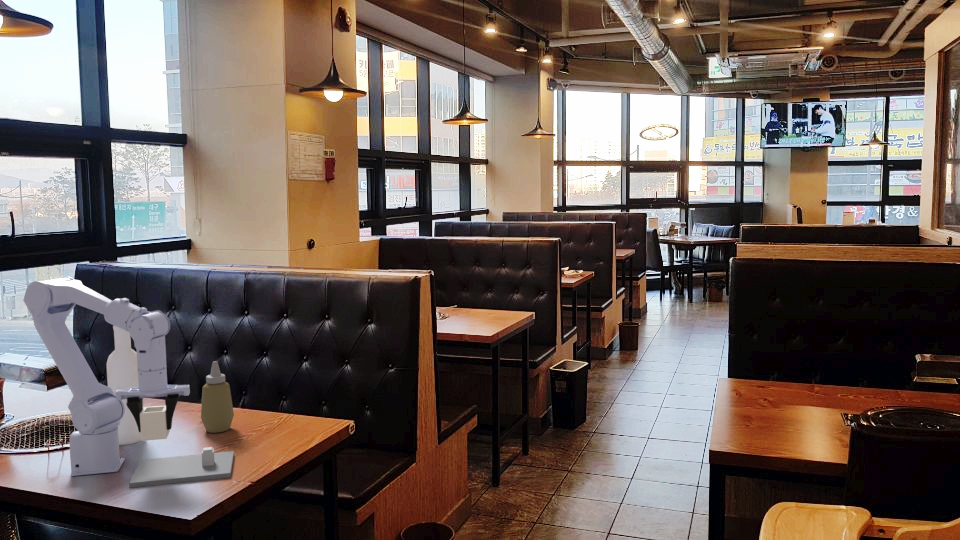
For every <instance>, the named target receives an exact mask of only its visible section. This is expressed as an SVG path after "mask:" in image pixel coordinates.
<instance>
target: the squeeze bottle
mask: <svg viewBox="0 0 960 540" xmlns="http://www.w3.org/2000/svg"><path fill="white" fill-rule="evenodd" d="M205 381H206V382H205V384H204V385H203V386H202V393H201V409H200V410H201V411H200V419H201V421H202V425H203V426H204V428H205V431H206V432H207V433H213V434H214V433H222V432H227V431H228V430H230V429H231V426H232V422H233V419H234V416H235V415H234V407H233V400H232V399H233V398H232V394H231V393H232V392H231V387H230V384H229V382H227V381H226V375H225V374H224V373H221V370H220V365H219V362H218V360H215V361H212V364H211V368H210V374H208V375H206V376H205Z"/></svg>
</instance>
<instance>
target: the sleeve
mask: <svg viewBox="0 0 960 540" xmlns="http://www.w3.org/2000/svg"><path fill="white" fill-rule="evenodd" d="M140 427H141V441H140V442H145V441H155V440H166V439H168V436H169V434H170V430H171V429H170V430H167V413H166V404H165V405H154V406H152V405H151V406H144V408H143V409H142V411H141V412H140Z"/></svg>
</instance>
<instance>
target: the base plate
mask: <svg viewBox="0 0 960 540" xmlns="http://www.w3.org/2000/svg"><path fill="white" fill-rule="evenodd" d="M234 458H235V451H234V450H232V451H222V452H221V451H220V452H215V448H213V446H210V447H209V446H208V447H203V449H202V451H201V453H200V454H188V455H180V456H179V455H178V456H168V457H167V456H166V457H160V458H156V457H155V458H148V459H140V461H139V463H138V464H137V466H136V469H135V471H134V473H133V474H132V476H131V479H130V481H129V482H128V488H129V489H130V488H140V487H150V486H158V485H159V486H161V485H170V484H178V483H180V484H181V483H188V482H189V483H190V482H197V481H198V482H199V481H200V482H201V481H209V480H217V479H218V480H219V479H225V478H226V479H227V478H229V479H230V478H231V475H232V470H233V464H234V463H233V462H234Z"/></svg>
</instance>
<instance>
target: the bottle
mask: <svg viewBox="0 0 960 540" xmlns="http://www.w3.org/2000/svg"><path fill="white" fill-rule="evenodd" d="M112 330H113V338H114V339H113V340H114V350H112V352H111V353H110V354H109V355H108V357H107V361H106V378H107V381H106V382H107V386H108V387H110V388H111V389H112V391H113V392H114V394H115V395H116V391H117V390H121V389H129V388H136V387H139V386H138V367H137V351H135V349H133V348H132V343H131V342H132V340H131V339H132V337H131V336H130V333H129V332H127V331H125V330H123V329H121V328H119V327H116V326H114V325H112ZM122 401H123V403H124V407H125V413H124V416H123V417H122V418H121V419H120V425H118V437H119V446H127V445H132V444H137V443H140V442H142V441H141V432H139V430H138V426H137V423H136V421H135V419H134V416H133V415H132V413H131V411H130V410H129V408H128V407H127V405H126V403H127V399H122ZM144 407H145V406H144V404H143V408H144Z"/></svg>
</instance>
